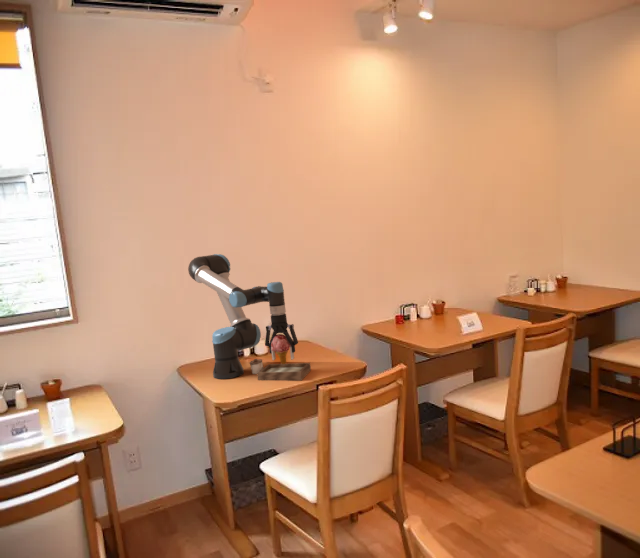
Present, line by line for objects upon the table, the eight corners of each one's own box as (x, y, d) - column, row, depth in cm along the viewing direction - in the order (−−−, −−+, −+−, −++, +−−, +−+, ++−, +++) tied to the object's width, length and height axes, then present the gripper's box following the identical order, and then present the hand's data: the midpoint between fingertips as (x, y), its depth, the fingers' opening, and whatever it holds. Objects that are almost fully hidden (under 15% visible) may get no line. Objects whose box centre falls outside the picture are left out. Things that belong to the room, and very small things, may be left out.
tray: (258, 381, 270) (257, 373, 270) (269, 371, 285) (268, 364, 285) (301, 380, 264) (300, 372, 264) (310, 370, 280) (310, 362, 279)
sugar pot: (249, 375, 283) (246, 361, 282) (259, 371, 287) (256, 357, 286) (257, 376, 278) (254, 361, 277) (267, 372, 283) (264, 357, 282)
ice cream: (277, 368, 267) (272, 337, 266) (271, 365, 276) (266, 335, 275) (298, 363, 271) (294, 333, 270) (292, 360, 280) (287, 330, 279)
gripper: (254, 316, 271) (259, 362, 273) (297, 314, 265) (302, 360, 267) (260, 313, 278) (265, 358, 280) (301, 311, 272) (306, 356, 275)
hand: (283, 359), depth 274 cm, fingers closed on ice cream, 9 cm apart
